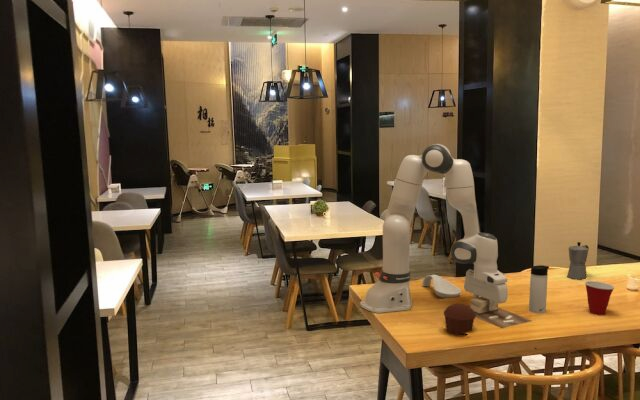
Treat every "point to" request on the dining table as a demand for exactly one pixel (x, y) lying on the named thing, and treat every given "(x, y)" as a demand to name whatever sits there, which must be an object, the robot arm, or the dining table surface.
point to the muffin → (459, 319)
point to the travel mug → (538, 289)
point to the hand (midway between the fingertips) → (484, 307)
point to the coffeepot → (578, 262)
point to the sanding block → (481, 305)
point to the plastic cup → (598, 296)
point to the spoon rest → (442, 286)
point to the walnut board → (502, 318)
